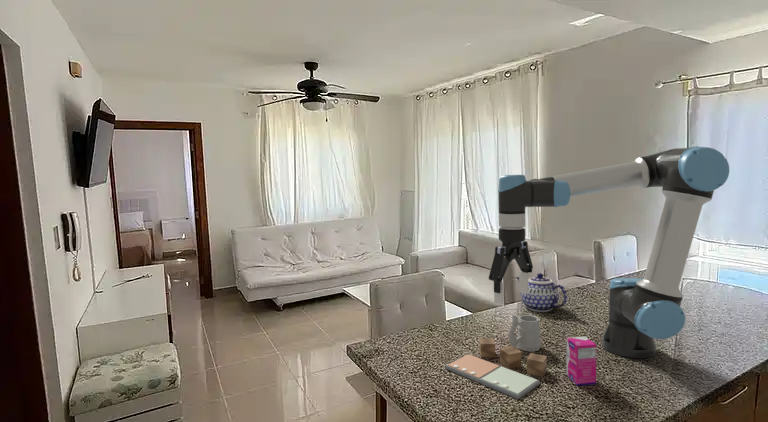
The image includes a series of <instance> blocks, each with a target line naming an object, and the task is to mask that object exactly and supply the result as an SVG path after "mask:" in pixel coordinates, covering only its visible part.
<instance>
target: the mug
mask: <svg viewBox="0 0 768 422" xmlns="http://www.w3.org/2000/svg"><path fill="white" fill-rule="evenodd" d="M516 330H517V337H516V335H515V331H516ZM540 332H541V326H540V319H539V318H538V317H537V316H533V315H529V314H524V315H520V316H518V317H517V316H516V315H515V314H512V321H511V324H510V328H509V332H508V334H507V335H508V342H509V344H510V345H511V346H512V347H514V348H516V347H517V348H518V350H519V349H520V351H525V352H528V353H530V352H531V353H534V352H537V351H539V350H540V348H541V346H542V342H541V340H540V339H541V338H540Z"/></svg>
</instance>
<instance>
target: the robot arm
mask: <svg viewBox="0 0 768 422" xmlns="http://www.w3.org/2000/svg"><path fill="white" fill-rule="evenodd" d="M729 175H730V165H729V161H728V160H727V158H726V157H725V156H724V154H723V153H721V151H719V150H717V149H715V148H713V147H707V146H692V147H684V148H683V147H682V148H672V149H668V150H663V151H660V152H656V153H653V154H649V155H645V156H641V157H636V158H635V159H634V160H633V161H631V162H625V163H620V164H615V165H614V164H612V165H610V166H609V165H608V166H603V167H597V168H593V169H586V170H581V171H576V172H570V173H563V174H559V175H552V176H548V177H543V178H541V177H540V178H532V179H530V180H527V179H526V175H525V174H504V175H501V176H500V177H499V179H498V192H497V193H498V226H499V228H498V240H499V241H500V242H502V243H501V246H495V249H494V256H493V260H492V264H491V267H490V272H489V275H488V280H489V281H493V303H495V304H499V305H504V304H505V303H504V301H505V297H504V296H505V290H504V289H505V287H504V286H505V285H504V284H505V283H504V281H503V279H504V277H505V274H506V272H507V269H508V266H509V265H510V263H512V261H513V260H515V262H516V264H517V266H518V267H519V269H520V271H519V272H518V273H519V274H518V276H519V281H518V288H519V289H518V293H520V294H521V293H524V294H528V279H529V273H530V274H531V273H532V272H533V269H534V265H533V263H532V258H531V255H530V251H529V247H528V246H529V245H528V244H529V243H528V241H527V240H526V229H525V227H526V208H533V207H534V208H536V207H537V208H539V207H540V208H541V207H542V208H543V207H544V208H546V207H547V208H549V207H550V208H551V207H553V208H559V207H566V206H567V205H568V204H569V203H570V200H571V198H574V197H580V196H586V195H593V194H598V193H603V192H609V191H610V192H611V191H615V190H616V191H617V190H621V189H623V190H624V189H627V188H629V189H630V188H633V187H639V188H641V189H647V188H662V189H661V193H662V195H664V197H665V202H664V205H663V208H662V212H661V215H660V219H659V222H658V227H657V231H656V234H655V238H654V239H653V243H652V248H651V252H650V255H649V258H648V262H647V266H646V269H645V273H644V277H643V278H638V277H637V278H635V277H616V278H612V279H611V280H610V283H609V288H608V290H609V297H608V298H609V300H608V301H609V302H608V303H609V306H608V311H609V313H608V324H607V327H606V329H605V331H604V333H603V336H602V340H601V341H602V342H601V343H602V347H603V348H604V349H605V350H606V351H608V352H610V353H612V354H615V355H618V356H621V357H625V358H630V359H651V358H654V356H656V355H657V344H656V341H655V340H667V339H670V338H672V337H673V336H674V337H675V336H677V334H679V333H680V332H681V331H682V329H683V328H684V326H685V324H686V315H685V312H684V310H683V308H682V307H681V304H682V301H683V298H684V294H683V293H682V292H681V290H680V284H681V281H682V278H683V273H684V270H685V267H686V263H687V259H688V256H689V253H690V249H691V246H692V242H693V240H694V236H695V233H696V229H697V226H698V223H699V220H700V215H701V212H702V208H703V205H705V204H707V203H708V202H711V201H712V199H713V195H714V192H715V190H717V189H719V188H720V187H722V186H723V185H725V183H726V182H727V181H728V178H729Z"/></svg>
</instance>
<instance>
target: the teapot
mask: <svg viewBox="0 0 768 422" xmlns="http://www.w3.org/2000/svg"><path fill="white" fill-rule="evenodd" d="M515 278H516V279H517V281H518V282H519V275H518V276H516V277H515ZM559 288H560V290H561V292H562V294H563V302H561V304H559V302H560V291H559ZM520 296H521V300H522V303H523V304H524V305H525V306H526V307H527V309H528V310H529V311H533V312H539V313H540V312H541V313H546V312H551V311H552V310H553V309H555V308H561V307H564V306H565V305H566V303H567V302H568V292H567V290H566V288H565V287H564V286H563V285H562V284H557V285H556V284H555V283H554V282H553V280H552V279H551V278H549V277H544V273H541V272H539V273H537V274H536V276H533V277H528V294H524V293H520Z"/></svg>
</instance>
